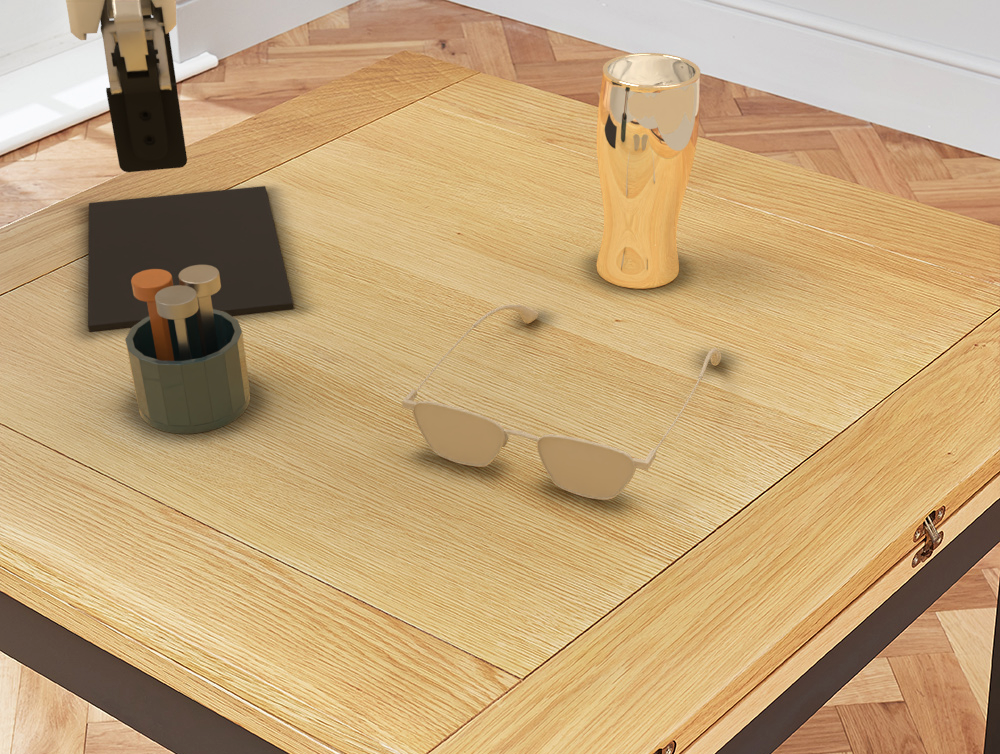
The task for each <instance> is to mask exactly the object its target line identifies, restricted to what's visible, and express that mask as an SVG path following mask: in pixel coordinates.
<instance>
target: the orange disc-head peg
mask: <svg viewBox="0 0 1000 754" xmlns="http://www.w3.org/2000/svg"><path fill="white" fill-rule="evenodd" d="M131 283H132V289H133V294H134V296H135V298H137V299H138V300H141V301H145V302H147V305H148V311H149V317H150V322H151V328H152V334H153V339H154V345H155V350H156V356H157V359H158V360H164V361H174V356H173V350H172V344H171V338H170V332H169V326H168V320H167V319H165V318H163V317H161V316H160V315H159V314H158V313H157V307H156V301H155V295H156V293H157V292H158V291H160V290H162V289H164V288H166V287H170V286H174V285H173V279H172V275H171V274H170V273H169V272H168V271H166V270H162V269H149V270H144V271H141V272H139V273H137V274H135V275H134V276H133V277H132V279H131Z"/></svg>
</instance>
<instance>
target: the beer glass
mask: <svg viewBox="0 0 1000 754" xmlns="http://www.w3.org/2000/svg"><path fill="white" fill-rule="evenodd" d="M700 77H701V69H700V67H699V66H698V65H697V64H696V63H694V62H693V61H691V60H689V59H687V58H684V57H681V56H678V55H673V54H667V53H659V52H658V53H657V52H637V53H635V52H634V53H628V54H622V55H618V56H616V57H614V58H611V59H610V60H607V61H606V62H605V63H604V64H603V66H602V77H601V84H600V85H601V86H600V91H599V100H598V109H597V119H596V156H597V166H598V174H599V175H598V176H599V183H600V190H601V198H602V207H603V233H602V238H601V243H600V247H599V251H598V254H597V259H596V271H597V273H598V275H599V276H600V277H601V278H602V279H603V280H605V281H606V282H608V283H610V284H612V285H615V286H618V287H622V288H627V289H635V290H646V289H656V288H659V287H663V286H666V285H668V284H670V283H671V282H673V281H674V280H675V279H676V278H677V277H678V275H679V271H680V262H679V255H678V245H677V233H678V231H677V230H678V224H679V223H678V222H679V217H680V213H681V209H682V205H683V201H684V198H685V194H686V191H687V188H688V184H689V181H690V177H691V173H692V169H693V166H694V165H693V164H694V161H695V156H696V150H697V144H698V136H699V122H700V95H701V94H700V93H701V92H700V87H701V86H700V85H701V83H700V81H701V80H700Z"/></svg>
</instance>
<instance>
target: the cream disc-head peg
mask: <svg viewBox="0 0 1000 754" xmlns="http://www.w3.org/2000/svg"><path fill="white" fill-rule="evenodd" d="M155 301H156V307H157V313H158V314H159V315H160V316H161V317H163V318H165V319H171V320H174V323H175V329H176V335H177V341H178V347H179V353H180V359H181V361H185V360H191V359H192V358H191V352H190V346H189V340H188V333H187V327H186V321H185V318H188V317H190V316H192V315H194V314H195V313H196V312H197V311H198V309H199V306H198V299H197V293H196V291H195V290H194V289H193V288H191V287H188V286H182V285H177V286H170V287H166V288H164V289H162V290H160V291H158V292H157V293H156V295H155Z"/></svg>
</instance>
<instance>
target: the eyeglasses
mask: <svg viewBox="0 0 1000 754" xmlns="http://www.w3.org/2000/svg"><path fill="white" fill-rule="evenodd" d="M505 310H508V311H514V312H516V313H518V314H519V316H520V318H521V319H522V321H523V322H524V323H525V324H530V323H533V322H534V321H535V320H537V319H538V318H539V316H540V313H538V312H537V310H535V309H533V308H531V307H528V306H526V305H522V304H505V305H501V306H498V307H496V308H493V309H491V310H490V311H488V312H487V313H486V314H484V315H483V316H481V317H480V318H479V319H478V320H477V321H476V322H474V323H472V326H471V327H470V328H469V329H468V331H466V332H465V333H464V334H463V335H462V336H461V337H460V338H459V339H458V341H457V342H456V343H455V344H454V345H453V346H452V347H451V348H450V349H449V350H448V351H447V352H446V353H445V354H444V356H443V357H442V358H441V359H440V360H439V361H438V363H437V364H436V365H435V366H434V367H433V369H432V370H431V371H430V372H429V374H428V375H426V377H425V378H424V379H423V381H422V382H421V383H420V385H419V386H418V387H417V388H416V389H413V388H412V389H411V390H410V391H409V392H408V394H407V395H406V396H405V397H404V398H403V399H402V400H401V408H403V409H406V410H409V411H412V417H413V420H414V422H415V424H416V426H417V428H418V430H419V432H420V434H421V436H422V437H423V439H424V441H425V443H426V444H427V445H428V447H429V449H430V450H431V451H432V452H433V453H435V454H436V455H437V456H439V457H441V458H443V459H445V460H448V461H450V462H454V463H456V464H459V465H464V466H470V467H476V468H477V467H480V468H482V467H487V466H489V465H490V464H491V463H492V462H493V461H495V459H496V458H497V456H498V455H499V453H500V452H501V450H502V448H506V446H507V444H508V441H509V439H510V436H509V435H512V436H518V437H521V438H525V439H527V440H531V441H533V442H536V449H537V454H538V456H539V460H540V461H541V464H542V466H543V468H544V470H545V472H546V474H547V475H548V477H549V478H550V480H551V481H552V483H553V484H554V485H555V486H556V487H558V488H560V489H561V490H564V491H566V492H569V493H571V494H574V495H576V496H580V497H583V498H587V499H592V500H600V501H601V500H602V501H604V500H605V501H606V500H612V499H614V498H616V497H618V496H619V495H620V494H621V493H622V492H623V491H624V489H626V487H627V486H628V484H629V483H630V482H631V480H632V479H633V477H634V475H635V474H636V470H637V469H639V470H644V471H649V469H650V468H651V466H652V464H653V462H654V461H655V459H656V457H657V451H658V449H659V448H660V446H661V445H662V444H663V442H664V440H665V439H666V437H667V436H668V435H669V434H670V432H671V431H672V429H673V427H674V426H675V424H676V423H677V421H678V420H679V419H680V417H681V415H682V414H683V412H684V410H685V408H686V407H687V405H688V403H689V401H690V400H691V398H692V396H693V395H694V393H695V391H696V389H697V387H698V386H699V384H700V381H701V380H702V379H703V377H704V376H705V375H704V374H705V372H706V370H707V367H708V364H709V362H710V363H711V364H712V366H714V367H716V366H718V365H719V364H720V362H721V359H722V353H721V352H720V350H719V349H718V348H716V347H713V348H711V349H710V350H709V351H708V353H707V354H706V357H705V358H704V361H703V363H702V364H703V365H702V368H701V369H700V373H699V375H698V377H697V381H696V383H695V385H694V386H693V388H692V391H691V393H690V394H689V396H688V397H687V399H686V401H685V402H684V404H683V406H682V408H681V410H680V411H679V412H678V414H677V416H676V418H675V419H674V420H673V422H672V423H671V425H670V427H669V428H668V429H667V431H666V432H665V433H664V435H663V436H662V438H661V439H660V441H659V442H658V444H657V446H656V447H655V448H654V449H652V448H651V449H650V451H649V453H648V454H647V455H646V458H645V459H644V458H643V459H642V458H638V457H633V456H631V454H629V453H628V452H626V451H624V450H621V449H619V448H616V447H614V446H610V445H607V444H604V443H600V442H597V441H596V442H595V441H592V440H587V439H583V438H579V437H573V436H569V435H562V434H555V433H554V434H550V433H547V434H544V435H542V436H540V437H539V436H536V435H533V434H531V433H529V432H526V431H523V430H517V429H506V428H505V429H504V427H503V426H502V425H501V424H500V423H499V422H497V421H496V420H494V419H492V418H490V417H488V416H485V415H482V414H480V413H476V412H474V411H471V410H467V409H463V408H460V407H457V406H453V405H449V404H445V403H441V402H436V401H430V400H419V401H415V400H416V399H417V395H418V392H419V390H420V389H421V388H422V387H423V386H424V384H425V383H426V382H427V381H428V379H429V378H430V377H431V375H432V374H433V373H434V372H435V371H436V369H437V368H439V366H440V364H441V363H442V362H443V361H444V360H445V359H446V358H447V357H448V356H449V354H451V352H452V351H453V350H454V349H455V348H456V347H457V346H458V345H459V344H460V343H461V342H462V341H463V339H465V338H466V336H468V334H469V333H470V332H472V330H474V328H477V327H478V326H479V325H480V324H481V323H482V322H483V321H485V320H486V319H487V318H489V317H490V316H492V315H494V314H496V313H498V312H500V311H505Z"/></svg>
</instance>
